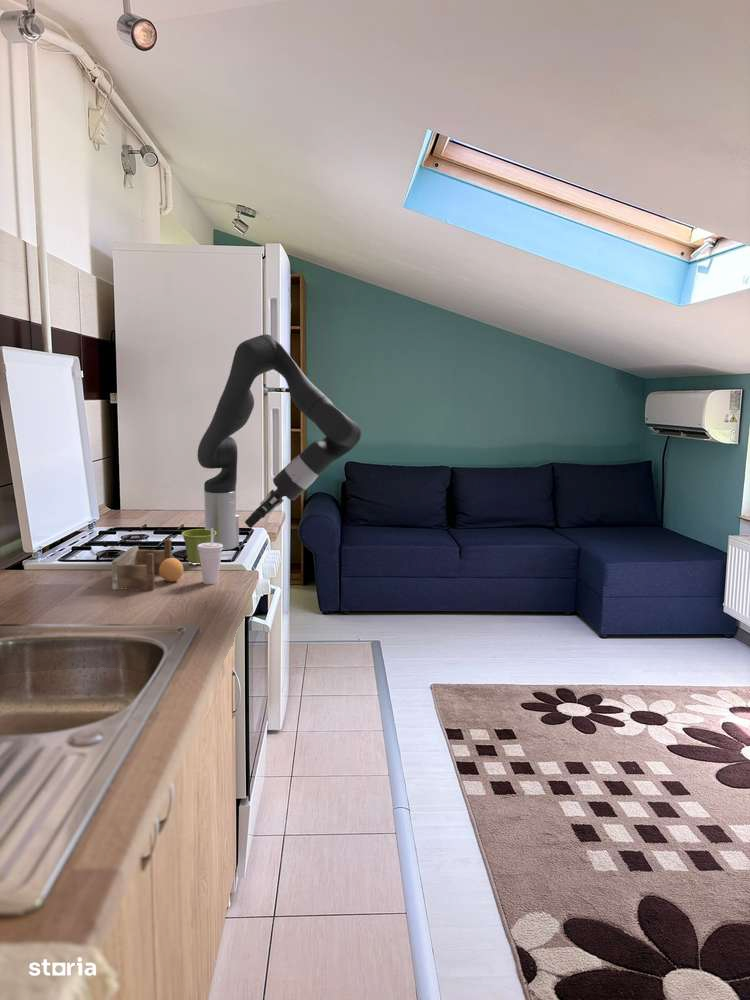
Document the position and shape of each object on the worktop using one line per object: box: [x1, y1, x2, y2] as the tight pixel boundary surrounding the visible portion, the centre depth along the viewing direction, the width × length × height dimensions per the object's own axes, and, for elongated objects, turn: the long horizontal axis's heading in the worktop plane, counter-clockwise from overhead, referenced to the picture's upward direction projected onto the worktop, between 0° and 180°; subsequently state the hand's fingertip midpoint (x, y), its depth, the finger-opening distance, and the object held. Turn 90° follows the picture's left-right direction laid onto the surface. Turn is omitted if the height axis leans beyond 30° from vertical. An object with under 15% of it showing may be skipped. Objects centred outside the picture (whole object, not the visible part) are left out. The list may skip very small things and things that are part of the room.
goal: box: [111, 538, 172, 591], centre depth 206 cm, size 10×17×9 cm, turn 179°
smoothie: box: [197, 528, 223, 585], centre depth 205 cm, size 6×6×14 cm
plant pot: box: [181, 528, 216, 563], centre depth 225 cm, size 9×9×9 cm
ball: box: [158, 557, 184, 583], centre depth 206 cm, size 6×6×6 cm
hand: (250, 521), depth 204 cm, fingers open, 8 cm apart
